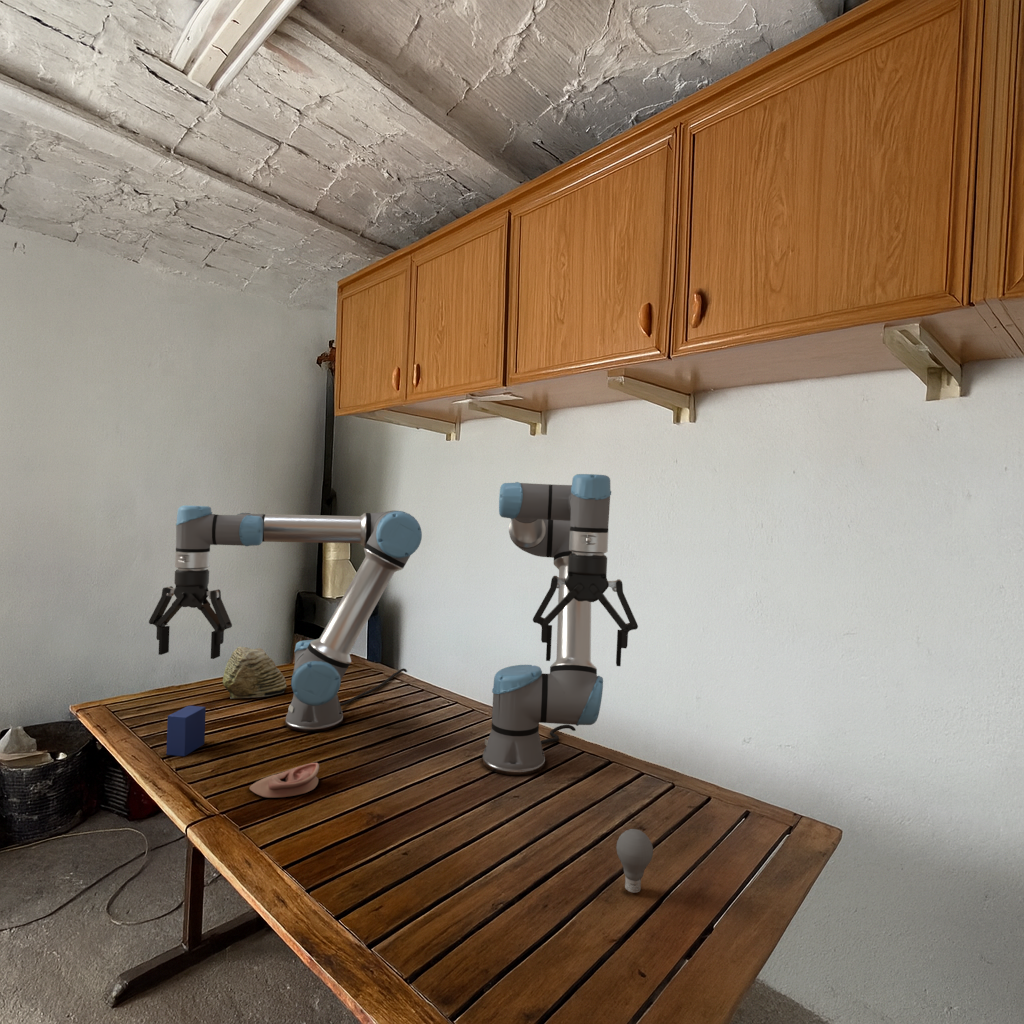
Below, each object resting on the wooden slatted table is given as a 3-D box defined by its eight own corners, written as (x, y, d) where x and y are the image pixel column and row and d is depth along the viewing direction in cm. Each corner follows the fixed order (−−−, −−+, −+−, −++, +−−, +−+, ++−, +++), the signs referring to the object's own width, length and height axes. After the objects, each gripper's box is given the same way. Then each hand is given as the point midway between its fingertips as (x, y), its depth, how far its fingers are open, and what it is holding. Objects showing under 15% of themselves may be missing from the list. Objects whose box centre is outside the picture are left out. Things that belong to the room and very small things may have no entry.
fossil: (218, 695, 195) (220, 647, 195) (278, 685, 208) (279, 640, 207) (228, 703, 189) (230, 653, 188) (289, 692, 201) (290, 645, 201)
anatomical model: (241, 775, 133) (272, 754, 144) (240, 794, 133) (272, 771, 144) (299, 783, 130) (326, 761, 142) (298, 802, 130) (325, 779, 142)
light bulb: (610, 879, 108) (613, 822, 108) (644, 879, 109) (647, 822, 109) (619, 902, 102) (622, 840, 102) (655, 901, 103) (658, 840, 103)
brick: (166, 754, 151) (167, 715, 151) (187, 742, 159) (188, 705, 159) (184, 756, 151) (185, 717, 151) (204, 743, 159) (205, 706, 158)
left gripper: (134, 567, 152) (131, 655, 152) (231, 573, 149) (228, 663, 149) (155, 564, 160) (152, 648, 160) (248, 570, 156) (245, 655, 157)
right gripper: (522, 551, 121) (517, 661, 122) (655, 558, 118) (649, 671, 118) (526, 548, 129) (521, 652, 129) (651, 555, 126) (646, 661, 126)
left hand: (189, 655), depth 155 cm, fingers open, 13 cm apart
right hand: (583, 662), depth 124 cm, fingers open, 13 cm apart
